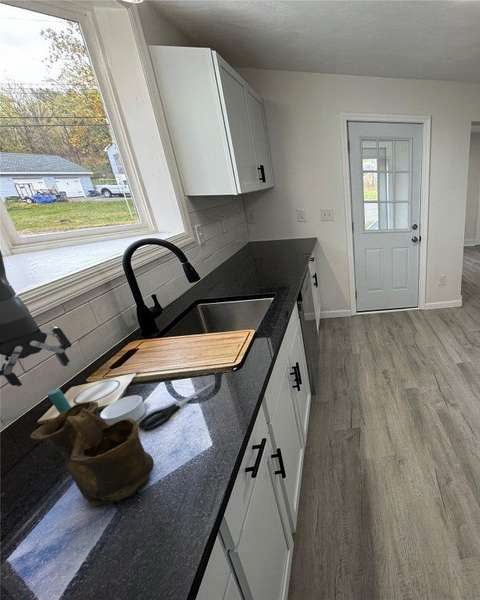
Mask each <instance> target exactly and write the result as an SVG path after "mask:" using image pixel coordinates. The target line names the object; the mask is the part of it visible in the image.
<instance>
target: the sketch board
mask: <svg viewBox="0 0 480 600" xmlns="http://www.w3.org/2000/svg"><path fill="white" fill-rule="evenodd" d="M136 375H137V372H134V373H130V374H124V375H120V376H115V377H111V378H107V379H102V380H97V381H93V382H89V383H83V384H79V385H75V386H71V387H70V388H69V389H67V391H66V392H65V393H63V395H64V396H65V398H66V399H67V401H68V403H69V404H70V406H71V407H73V406H74V405H76V404H79V403H83V402H88V401H93V402H97V403H98V411H100V410H104V409H105V408H106V407H107V406H109V405H110V404H112V403H113V402H115V401H117V400H120V399H122V398H124V396H125V394H126V393H127V391H128V390H129V388H127V387H128V385H130V383H131V381H132V380H133V379H134V378H135V376H136ZM59 414H60V413H59V412H58V410H57V409H56V407H55V406H54V404H53V405H52V406H51V407H50V408H49V409H48V410H47V411H46V412H45V413H44V414H43V415H42V416H41V417H40V418H39V419H38V420H37V421H36V423H37V424H38V425H44V424H45V422H46V421H47V420H48V421H51V420H53V419H55V418H56V417H57V416H58V415H59Z"/></svg>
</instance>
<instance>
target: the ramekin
mask: <svg viewBox="0 0 480 600" xmlns="http://www.w3.org/2000/svg"><path fill="white" fill-rule="evenodd" d="M145 413H146V408H145V404H144V401H143V397H142V396H140V395H129V396H125V397H122V398H121V399H120V400H117V401H115V402H113V403H112V404H110V405H109V406H107V407H106V408H105V409H102V411H101V412H100V413H99V415H100V417H101V419H102V421H103V422H105V423H106V424H114V423H115V422H118V421H120V420H122V419H126V418H133V420H135V421H136V422H137V421H139V420H140V419H141V418H142V417H143V416H144V415H145Z"/></svg>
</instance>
